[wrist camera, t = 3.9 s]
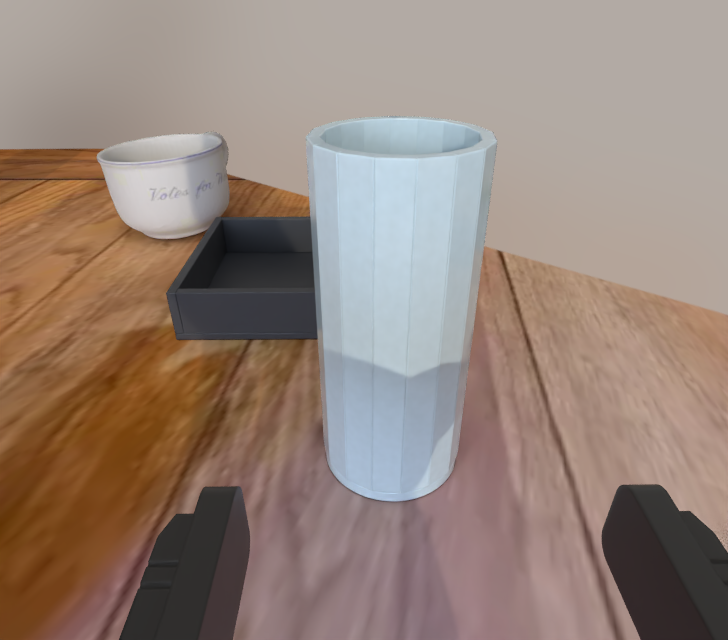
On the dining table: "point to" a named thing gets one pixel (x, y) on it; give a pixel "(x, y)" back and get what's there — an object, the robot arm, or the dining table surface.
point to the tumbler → (396, 293)
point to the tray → (248, 282)
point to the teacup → (168, 183)
